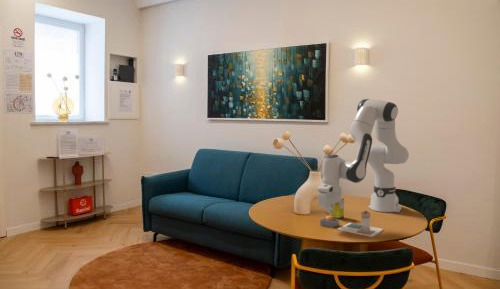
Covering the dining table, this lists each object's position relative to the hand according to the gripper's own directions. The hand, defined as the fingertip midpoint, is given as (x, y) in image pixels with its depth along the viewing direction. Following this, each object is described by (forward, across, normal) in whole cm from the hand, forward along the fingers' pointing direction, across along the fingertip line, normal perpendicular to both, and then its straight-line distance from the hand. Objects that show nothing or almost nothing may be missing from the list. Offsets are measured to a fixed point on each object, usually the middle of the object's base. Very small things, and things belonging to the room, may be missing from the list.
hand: (329, 212), depth 206 cm
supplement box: (+7, -16, -4) cm, 18 cm away
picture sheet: (+7, -2, +16) cm, 17 cm away
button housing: (+7, 0, 0) cm, 7 cm away
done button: (+5, 0, 0) cm, 5 cm away
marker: (+6, +1, +20) cm, 21 cm away
